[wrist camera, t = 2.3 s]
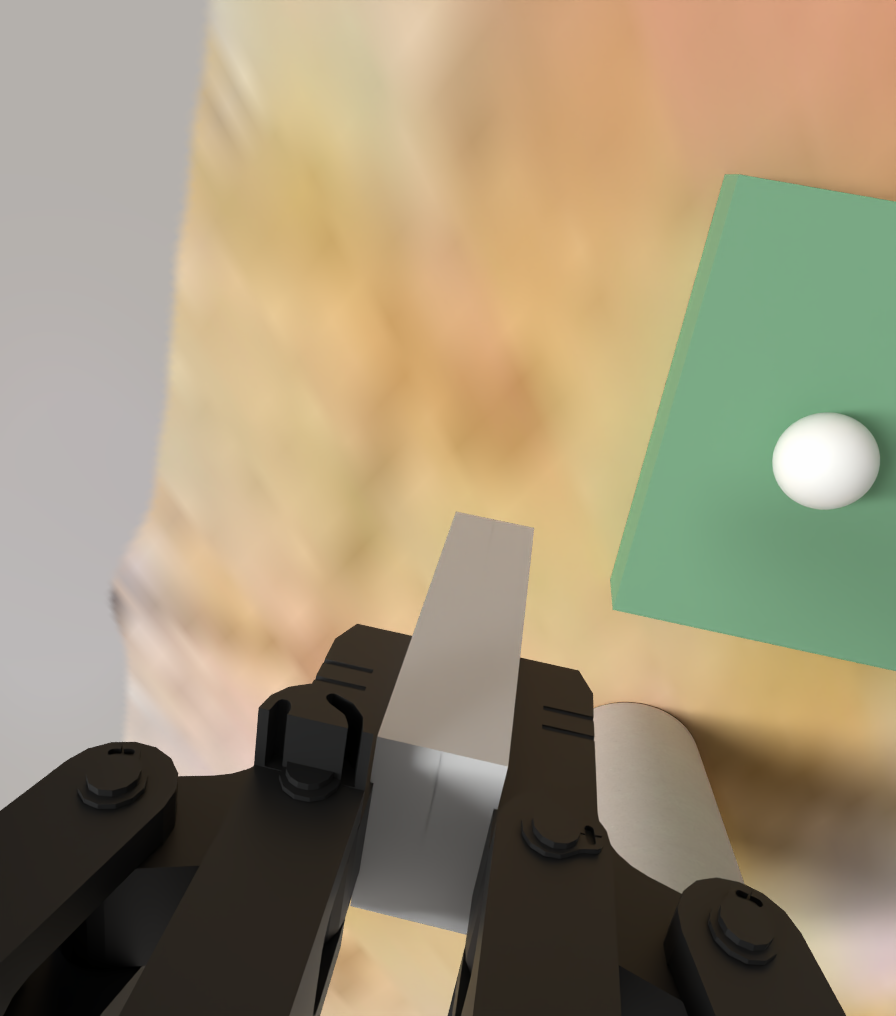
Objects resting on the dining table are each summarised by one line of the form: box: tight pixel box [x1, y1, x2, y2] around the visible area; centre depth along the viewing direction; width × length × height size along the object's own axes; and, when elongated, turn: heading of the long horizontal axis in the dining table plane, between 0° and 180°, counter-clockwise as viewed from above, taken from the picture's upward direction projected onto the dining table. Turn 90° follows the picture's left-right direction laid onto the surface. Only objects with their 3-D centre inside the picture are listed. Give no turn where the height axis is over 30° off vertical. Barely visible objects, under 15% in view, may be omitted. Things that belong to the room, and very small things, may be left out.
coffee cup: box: [593, 703, 744, 894], centre depth 30 cm, size 10×10×15 cm
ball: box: [772, 412, 880, 510], centre depth 26 cm, size 3×3×3 cm
